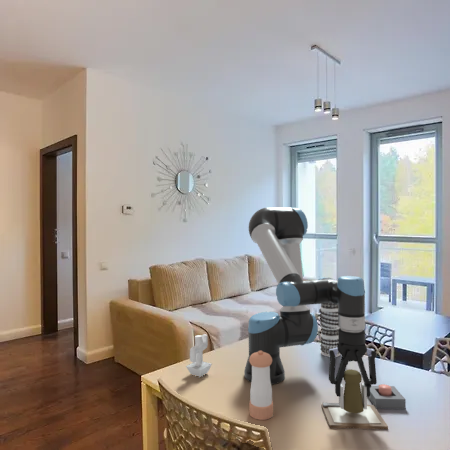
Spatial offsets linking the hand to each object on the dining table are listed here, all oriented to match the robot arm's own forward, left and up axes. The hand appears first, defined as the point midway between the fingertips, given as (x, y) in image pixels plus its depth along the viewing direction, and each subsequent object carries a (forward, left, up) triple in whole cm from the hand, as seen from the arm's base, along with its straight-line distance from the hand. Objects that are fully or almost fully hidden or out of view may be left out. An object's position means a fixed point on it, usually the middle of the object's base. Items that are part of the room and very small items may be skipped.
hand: (352, 406), depth 108 cm
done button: (+13, +10, -1) cm, 16 cm away
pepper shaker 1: (-27, +1, -3) cm, 27 cm away
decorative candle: (+5, +53, -3) cm, 53 cm away
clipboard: (0, 0, -3) cm, 3 cm away
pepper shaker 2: (0, 0, -1) cm, 1 cm away
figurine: (-50, +29, -3) cm, 58 cm away
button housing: (+13, +10, -3) cm, 17 cm away
